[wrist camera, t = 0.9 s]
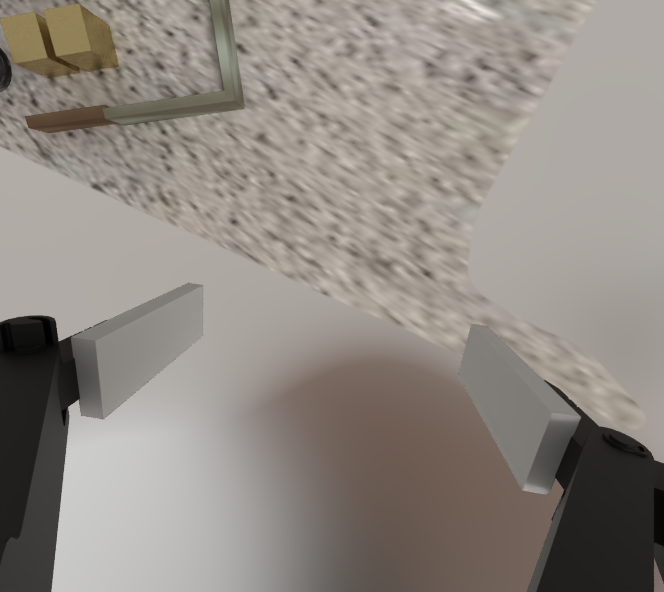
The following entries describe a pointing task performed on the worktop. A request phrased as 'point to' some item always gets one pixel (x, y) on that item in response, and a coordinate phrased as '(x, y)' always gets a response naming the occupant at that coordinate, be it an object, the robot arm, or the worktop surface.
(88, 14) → the chip
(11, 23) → the tan wooden cube
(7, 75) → the salt shaker
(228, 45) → the frame
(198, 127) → the worktop surface
